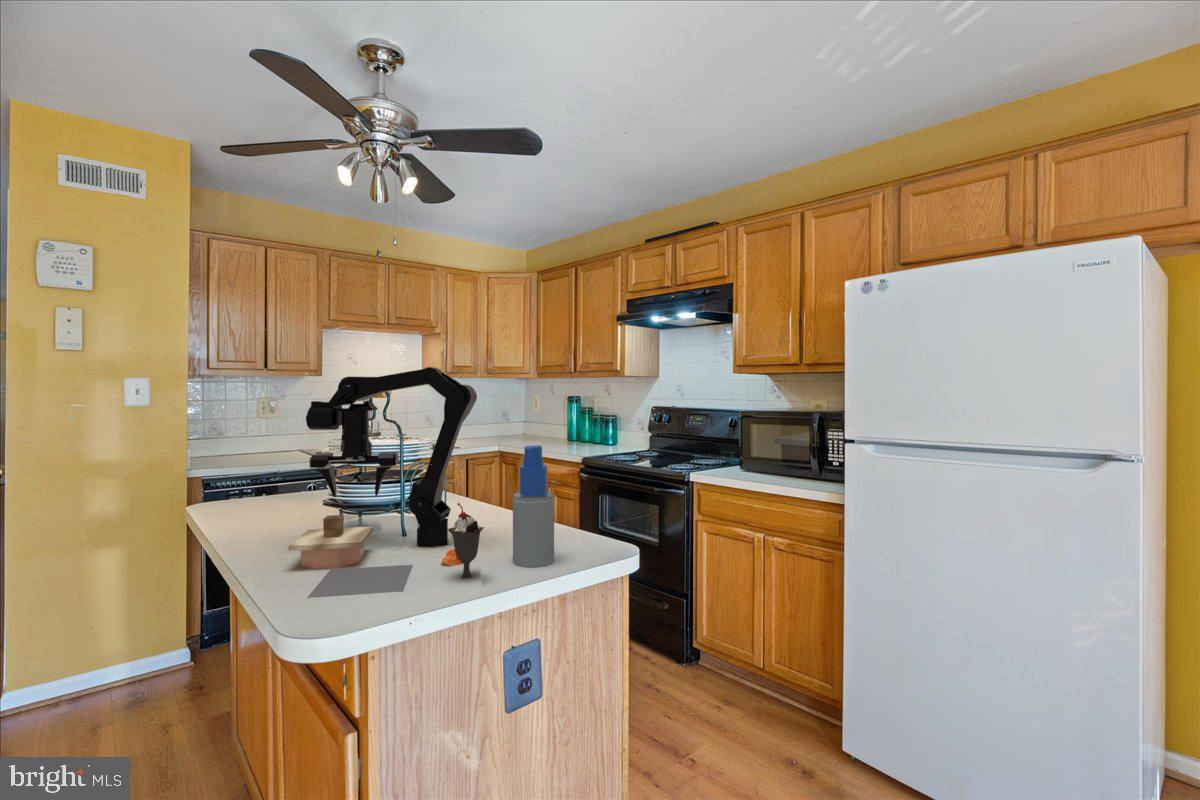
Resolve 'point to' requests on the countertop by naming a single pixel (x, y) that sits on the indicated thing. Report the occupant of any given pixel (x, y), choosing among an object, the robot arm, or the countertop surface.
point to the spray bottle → (533, 513)
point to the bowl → (331, 557)
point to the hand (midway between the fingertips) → (355, 496)
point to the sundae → (466, 540)
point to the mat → (362, 581)
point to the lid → (332, 536)
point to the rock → (451, 559)
